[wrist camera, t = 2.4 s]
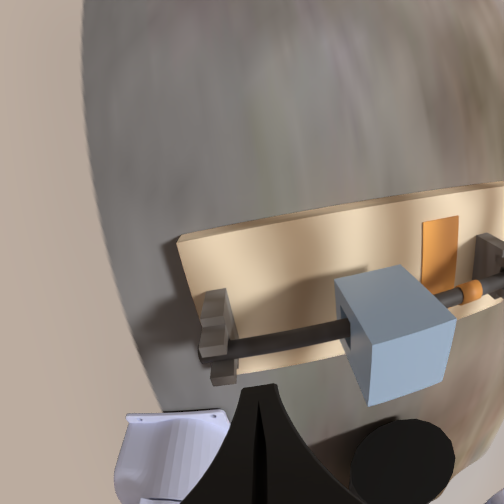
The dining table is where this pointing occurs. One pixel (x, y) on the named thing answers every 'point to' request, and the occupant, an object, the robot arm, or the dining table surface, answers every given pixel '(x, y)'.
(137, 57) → the dining table surface
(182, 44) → the dining table surface
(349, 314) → the light blue block
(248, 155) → the dining table surface
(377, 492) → the black cylinder
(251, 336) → the cord board
